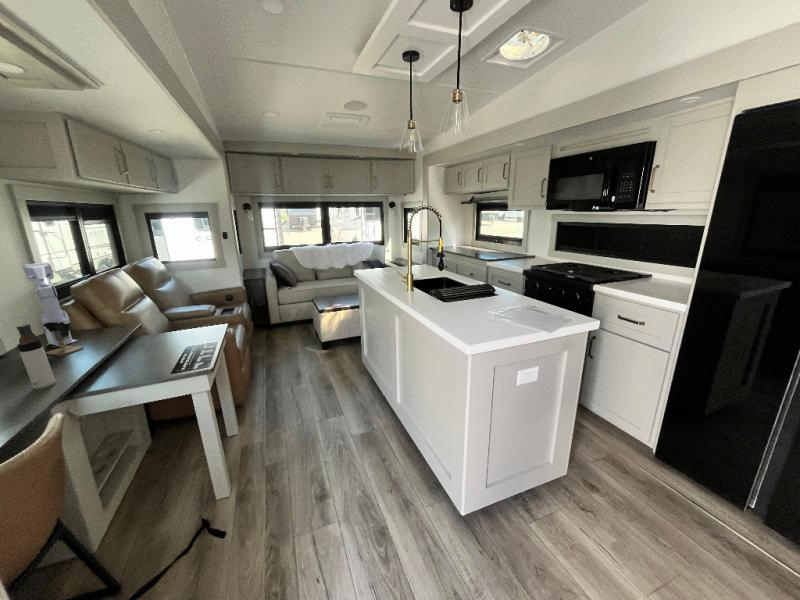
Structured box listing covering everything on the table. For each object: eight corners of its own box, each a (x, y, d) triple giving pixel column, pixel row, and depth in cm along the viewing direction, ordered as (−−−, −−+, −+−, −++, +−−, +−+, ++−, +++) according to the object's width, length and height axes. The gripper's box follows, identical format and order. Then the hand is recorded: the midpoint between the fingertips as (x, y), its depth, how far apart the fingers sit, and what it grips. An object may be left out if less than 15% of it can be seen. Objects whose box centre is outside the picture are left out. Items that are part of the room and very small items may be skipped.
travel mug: (36, 392, 127) (18, 345, 122) (32, 387, 131) (14, 342, 125) (58, 384, 132) (42, 339, 127) (53, 380, 136) (37, 336, 130)
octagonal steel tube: (51, 340, 160) (48, 331, 158) (64, 336, 165) (61, 327, 164) (59, 341, 159) (56, 331, 157) (72, 337, 164) (69, 327, 162)
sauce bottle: (51, 363, 151) (37, 323, 146) (33, 369, 146) (18, 328, 140) (43, 361, 154) (29, 322, 148) (25, 367, 148) (9, 326, 142)
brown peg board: (44, 354, 160) (40, 343, 159) (65, 347, 169) (62, 336, 167) (62, 356, 158) (58, 345, 156) (83, 348, 166) (80, 338, 165)
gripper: (30, 312, 155) (40, 338, 159) (53, 313, 152) (62, 340, 156) (48, 307, 162) (57, 332, 166) (71, 309, 159) (79, 334, 163)
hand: (61, 336), depth 161 cm, fingers closed on octagonal steel tube, 5 cm apart
